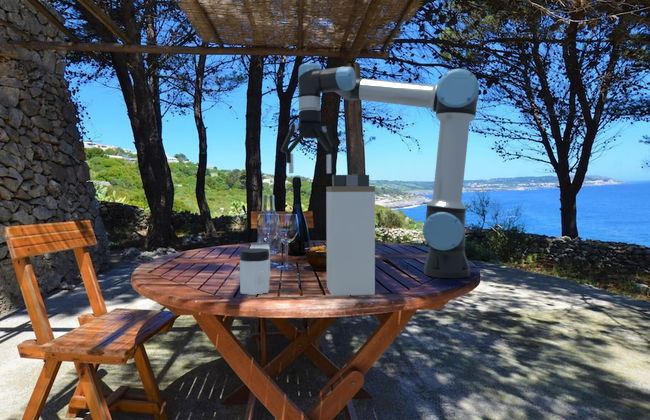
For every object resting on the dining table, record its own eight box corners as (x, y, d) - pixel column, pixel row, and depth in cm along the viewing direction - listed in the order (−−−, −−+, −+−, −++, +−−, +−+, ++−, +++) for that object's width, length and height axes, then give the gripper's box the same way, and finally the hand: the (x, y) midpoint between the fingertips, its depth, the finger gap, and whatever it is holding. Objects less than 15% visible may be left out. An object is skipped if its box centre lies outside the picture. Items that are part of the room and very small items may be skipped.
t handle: (325, 186, 139) (325, 176, 138) (356, 186, 140) (356, 176, 140) (334, 186, 119) (334, 174, 119) (369, 186, 120) (369, 174, 120)
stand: (326, 286, 130) (326, 186, 128) (365, 285, 131) (365, 186, 130) (331, 296, 118) (331, 186, 117) (374, 294, 119) (375, 186, 118)
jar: (246, 297, 117) (245, 253, 117) (234, 291, 124) (234, 249, 124) (275, 292, 122) (275, 250, 122) (263, 287, 129) (262, 247, 129)
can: (274, 279, 140) (273, 242, 140) (261, 283, 135) (260, 244, 134) (259, 277, 144) (258, 241, 143) (245, 280, 138) (245, 243, 138)
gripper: (339, 114, 155) (340, 173, 156) (271, 111, 147) (272, 173, 148) (347, 110, 148) (348, 172, 149) (276, 106, 140) (277, 172, 141)
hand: (310, 173), depth 148 cm, fingers open, 13 cm apart
